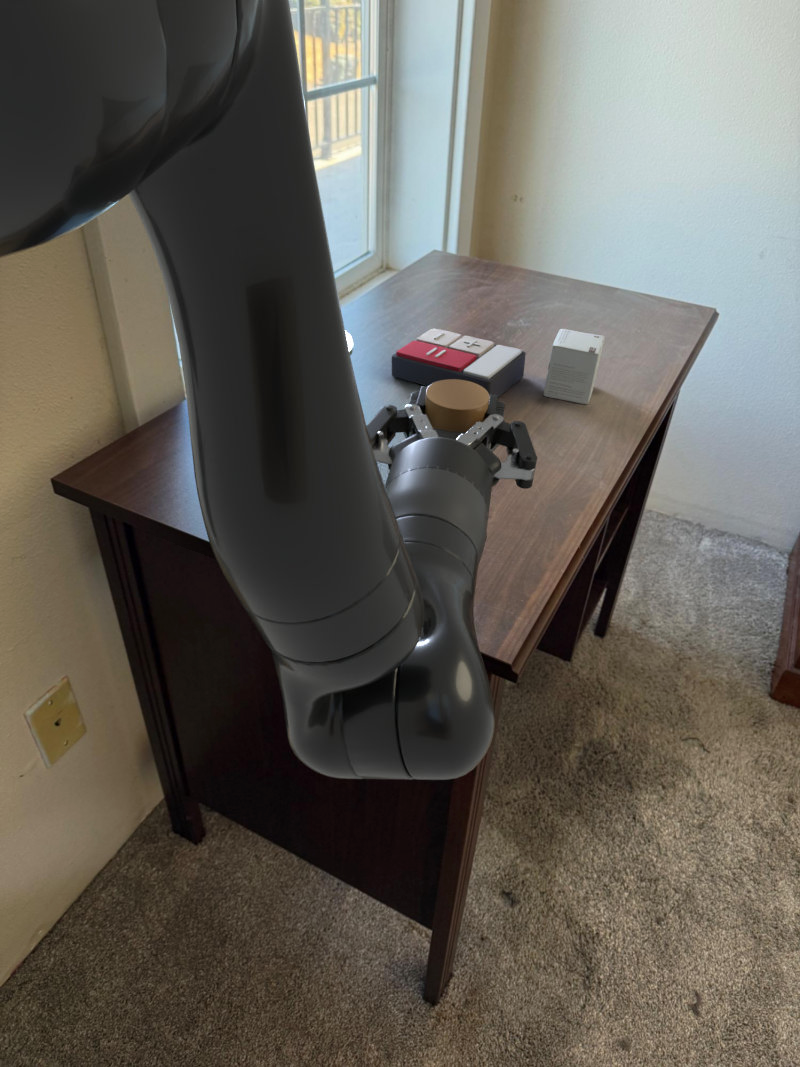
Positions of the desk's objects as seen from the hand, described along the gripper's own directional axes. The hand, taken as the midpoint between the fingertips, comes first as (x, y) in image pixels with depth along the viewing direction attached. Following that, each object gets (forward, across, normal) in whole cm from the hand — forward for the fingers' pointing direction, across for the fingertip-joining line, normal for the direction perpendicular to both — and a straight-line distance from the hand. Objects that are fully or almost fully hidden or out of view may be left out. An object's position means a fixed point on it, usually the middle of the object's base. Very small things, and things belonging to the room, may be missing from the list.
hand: (458, 400), depth 64 cm
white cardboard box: (+36, -13, +16) cm, 41 cm away
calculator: (+37, +2, +16) cm, 40 cm away
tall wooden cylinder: (-3, 0, +8) cm, 8 cm away
